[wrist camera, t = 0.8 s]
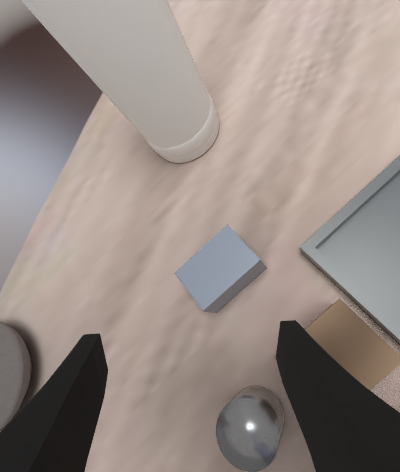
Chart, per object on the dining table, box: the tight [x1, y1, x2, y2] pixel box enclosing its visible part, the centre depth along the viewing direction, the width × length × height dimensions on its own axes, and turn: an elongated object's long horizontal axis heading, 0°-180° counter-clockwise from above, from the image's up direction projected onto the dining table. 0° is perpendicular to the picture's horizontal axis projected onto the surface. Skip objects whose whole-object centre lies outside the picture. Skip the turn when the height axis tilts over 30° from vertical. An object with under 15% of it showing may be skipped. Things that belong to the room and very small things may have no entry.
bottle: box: [21, 0, 220, 163], centre depth 20 cm, size 8×8×30 cm
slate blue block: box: [175, 224, 267, 313], centre depth 26 cm, size 4×6×4 cm, turn 128°
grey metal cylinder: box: [216, 386, 284, 472], centre depth 22 cm, size 4×4×5 cm
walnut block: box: [274, 299, 400, 390], centre depth 21 cm, size 4×6×6 cm
